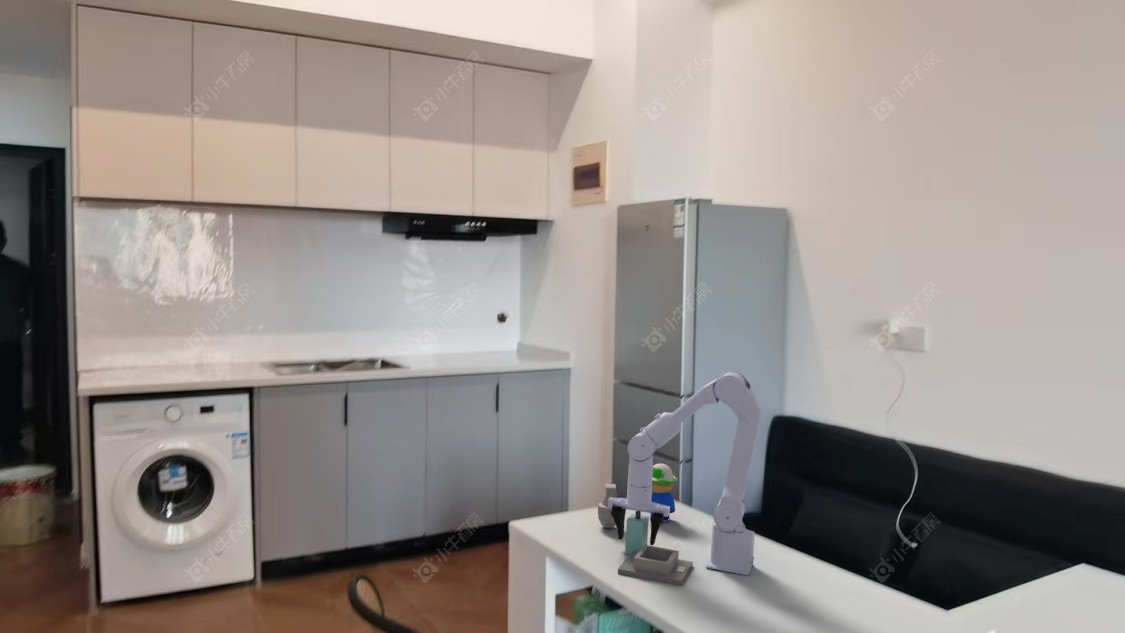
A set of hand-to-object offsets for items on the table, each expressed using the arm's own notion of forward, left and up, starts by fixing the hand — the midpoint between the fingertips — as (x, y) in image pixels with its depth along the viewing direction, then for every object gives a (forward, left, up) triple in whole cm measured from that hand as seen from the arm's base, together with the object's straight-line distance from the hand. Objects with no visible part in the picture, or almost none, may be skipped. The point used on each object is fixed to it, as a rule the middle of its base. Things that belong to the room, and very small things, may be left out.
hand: (636, 541), depth 183 cm
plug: (0, 0, -2) cm, 2 cm away
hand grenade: (+11, -13, -3) cm, 17 cm away
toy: (+1, -26, -3) cm, 26 cm away
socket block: (-7, +9, -2) cm, 12 cm away
